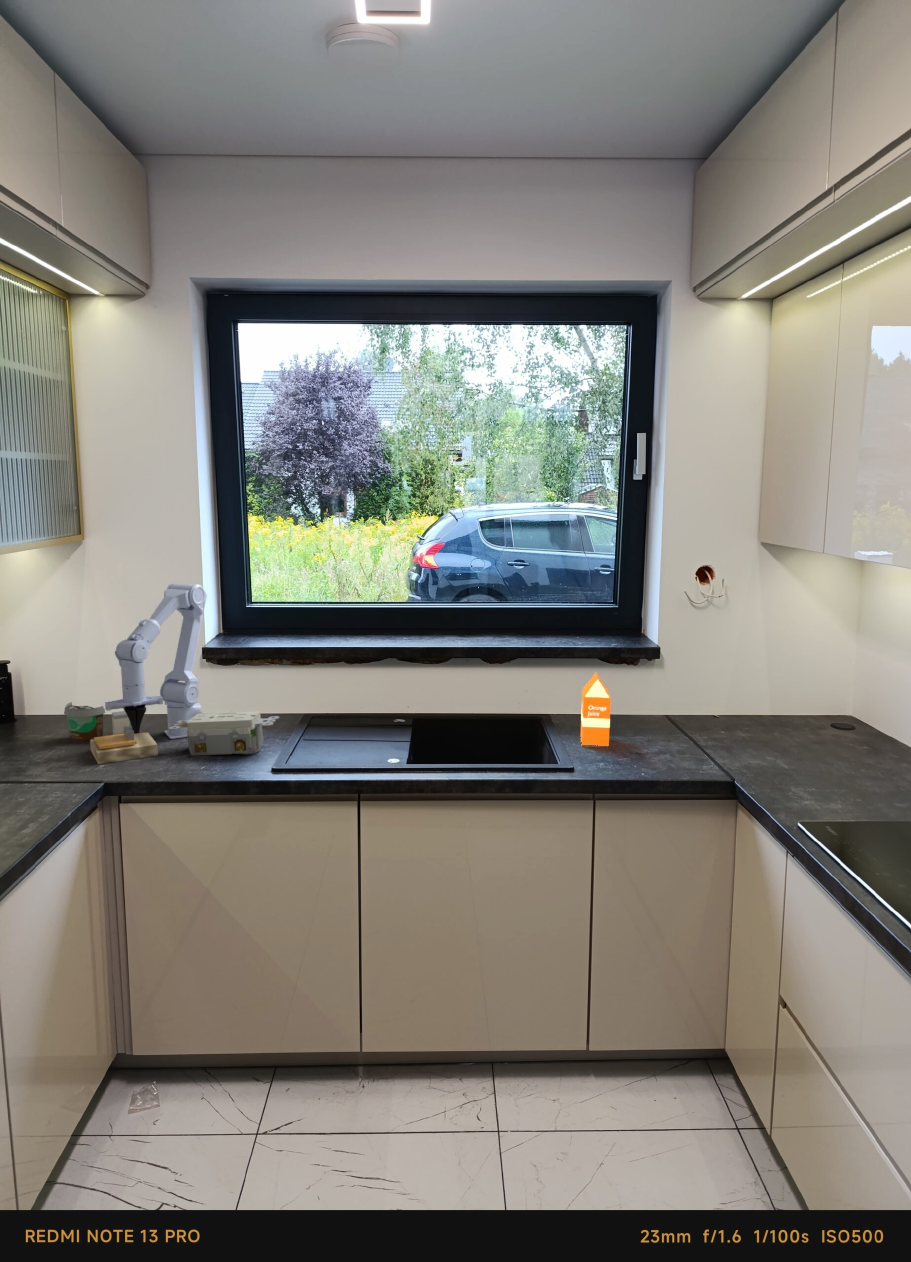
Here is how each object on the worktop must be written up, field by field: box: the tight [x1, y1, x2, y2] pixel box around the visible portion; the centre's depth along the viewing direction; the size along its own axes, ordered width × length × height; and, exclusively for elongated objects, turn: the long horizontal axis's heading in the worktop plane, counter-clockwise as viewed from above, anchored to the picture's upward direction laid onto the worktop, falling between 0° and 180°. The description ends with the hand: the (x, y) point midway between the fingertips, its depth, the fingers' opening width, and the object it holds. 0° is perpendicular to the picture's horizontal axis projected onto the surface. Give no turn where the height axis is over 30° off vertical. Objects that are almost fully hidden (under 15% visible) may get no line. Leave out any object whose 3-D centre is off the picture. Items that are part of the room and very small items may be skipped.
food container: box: [63, 702, 106, 744], centre depth 237 cm, size 12×6×10 cm, turn 71°
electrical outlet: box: [167, 710, 280, 756], centre depth 230 cm, size 12×28×10 cm, turn 87°
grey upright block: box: [111, 710, 131, 735], centre depth 238 cm, size 4×4×8 cm
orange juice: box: [580, 672, 612, 746], centre depth 240 cm, size 8×9×20 cm
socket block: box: [89, 731, 159, 765], centre depth 228 cm, size 15×13×3 cm
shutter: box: [94, 724, 136, 749], centre depth 226 cm, size 9×9×3 cm
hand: (136, 732), depth 229 cm, fingers closed
